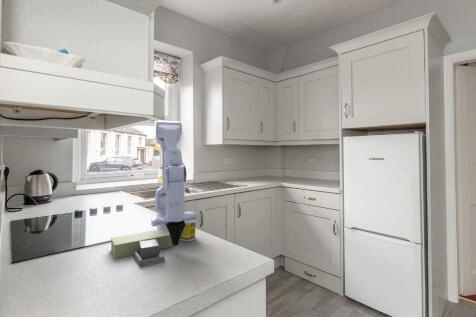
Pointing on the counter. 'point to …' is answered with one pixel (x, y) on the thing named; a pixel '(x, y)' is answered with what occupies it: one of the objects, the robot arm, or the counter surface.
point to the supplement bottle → (188, 230)
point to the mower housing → (131, 245)
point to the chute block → (148, 249)
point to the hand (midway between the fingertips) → (175, 244)
